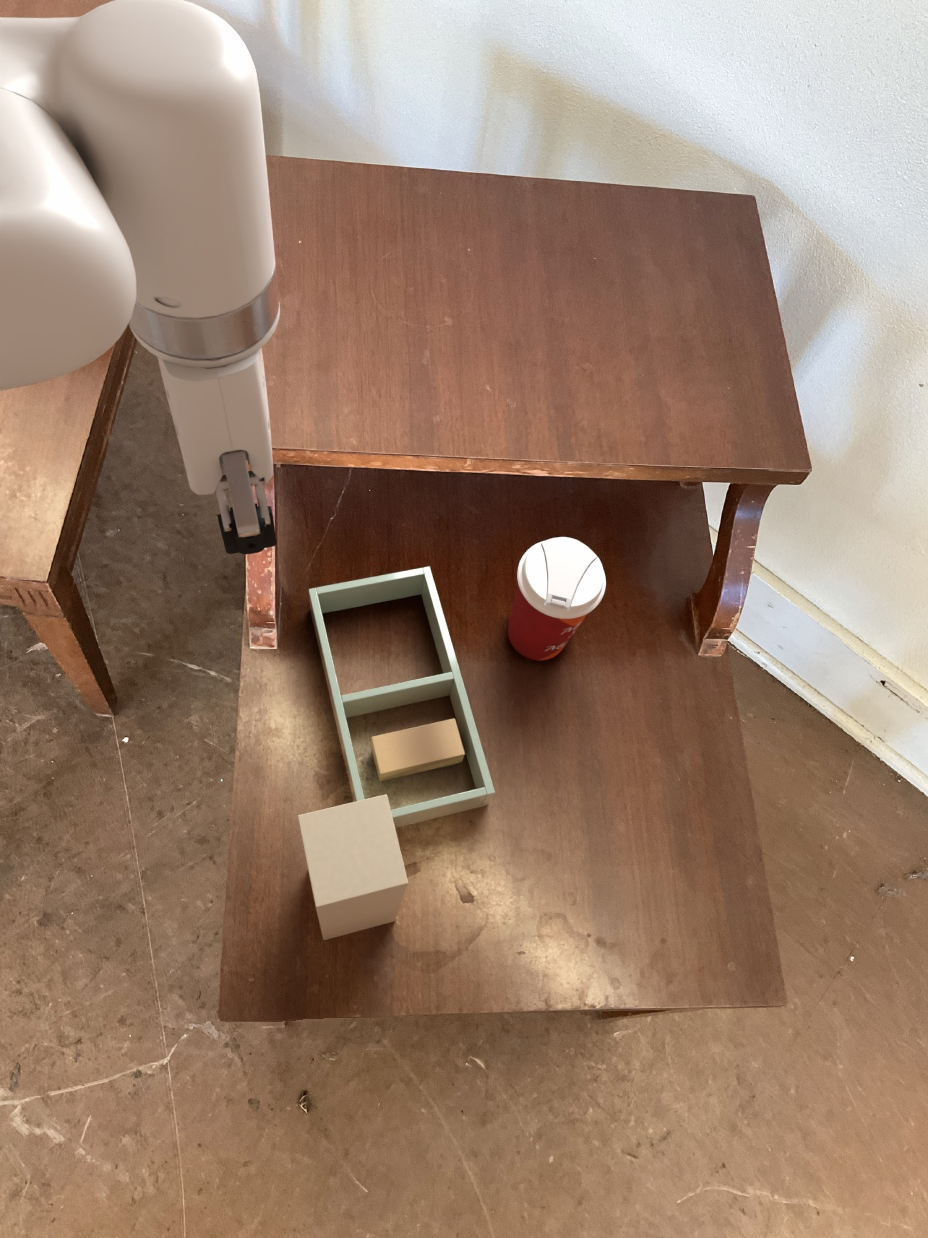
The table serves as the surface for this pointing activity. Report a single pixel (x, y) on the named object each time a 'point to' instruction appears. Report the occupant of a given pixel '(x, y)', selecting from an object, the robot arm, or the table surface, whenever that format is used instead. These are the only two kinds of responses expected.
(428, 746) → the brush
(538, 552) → the paper cup
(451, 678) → the divided tray
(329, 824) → the block
